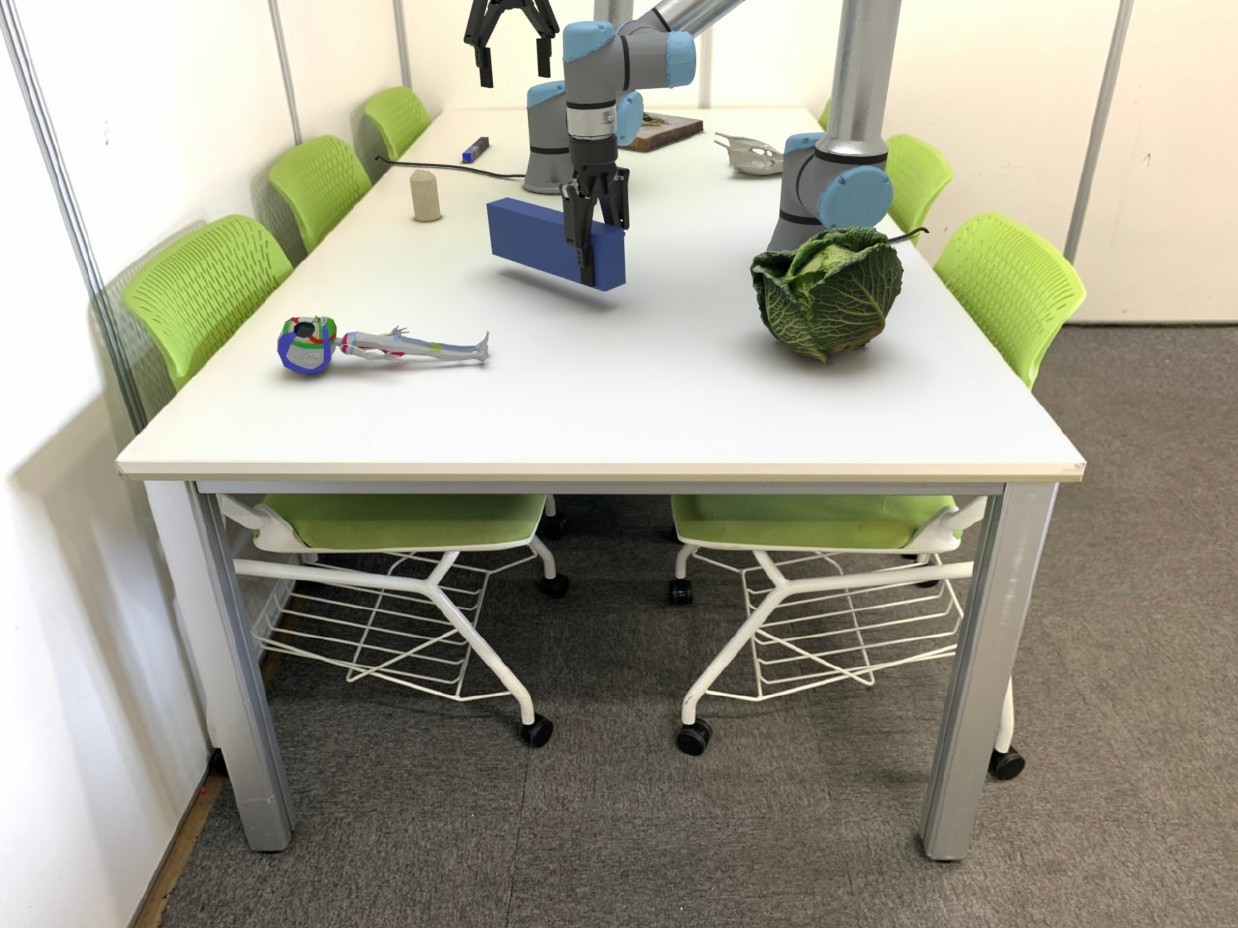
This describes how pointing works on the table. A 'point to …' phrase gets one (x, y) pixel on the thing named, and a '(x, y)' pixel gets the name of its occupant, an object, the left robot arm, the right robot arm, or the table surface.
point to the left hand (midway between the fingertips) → (516, 82)
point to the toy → (358, 345)
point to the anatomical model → (752, 156)
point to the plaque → (663, 131)
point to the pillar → (475, 149)
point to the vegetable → (828, 290)
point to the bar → (553, 242)
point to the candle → (425, 195)
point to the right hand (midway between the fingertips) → (600, 279)
